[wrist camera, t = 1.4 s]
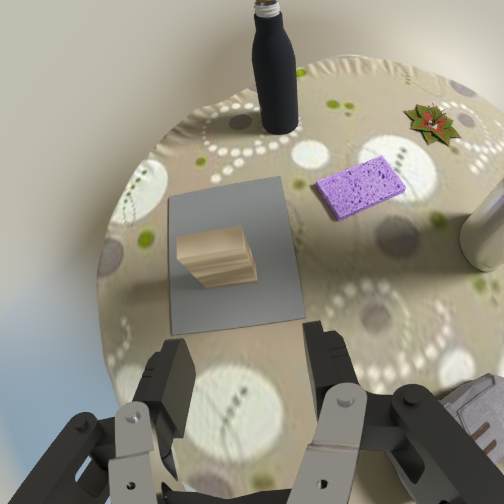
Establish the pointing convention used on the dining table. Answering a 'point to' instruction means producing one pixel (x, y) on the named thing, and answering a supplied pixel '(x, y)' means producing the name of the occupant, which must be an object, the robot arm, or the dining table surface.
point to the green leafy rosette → (438, 118)
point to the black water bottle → (274, 69)
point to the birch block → (218, 257)
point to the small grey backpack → (479, 414)
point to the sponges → (360, 187)
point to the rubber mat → (262, 248)
